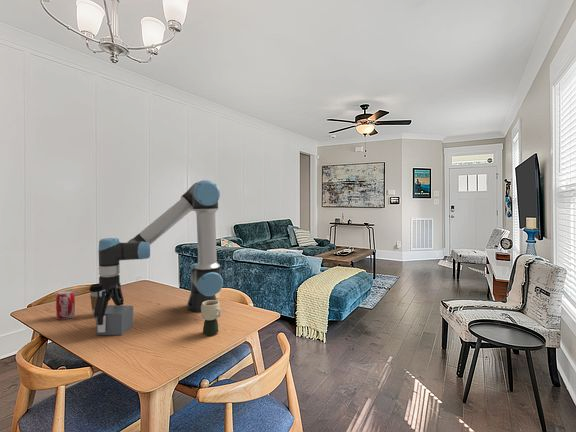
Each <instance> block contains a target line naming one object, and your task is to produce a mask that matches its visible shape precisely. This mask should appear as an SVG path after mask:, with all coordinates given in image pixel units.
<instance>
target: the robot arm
mask: <svg viewBox="0 0 576 432" xmlns="http://www.w3.org/2000/svg"><path fill="white" fill-rule="evenodd" d="M220 198H221V190H220V188H219V186H218V184H217V183H215V182H214V181H212V180H208V179H206V180H199V181H197V182H195V183H193V184H192V185H191V186H190V187H189V188H188V189H187V190H186V191H185V192H184V193H183V194H182V195H181V196H180V199H179V200H178V201H177V202H176V203H174V204H173V205H172V206H170V207H169V208H168V209H167V210H166V211H165V212H163V213H162V214H161V215H160V216H158V217H157V218H155V220H153V221H152V222H151V223H150V224H149V225H147V226H146V227H145V228H144V229H143V230H142V231H140V232H139V233H138V234H136V235H135V236H134V237H132V238H130V239H129V240H128V241H127V242H120V239H119V238H117V237H106V238H105V237H103V238H100V239H99V241H98V251H97V252H98V276H99V277H98V283H99V285H100V286H102V287H103V288H102V291H98V292H97V301H96V306H95V311H94V317H93V318H96V317H98V332H106V317H105V316H104V314H105V311H106V308H107V305H108V306H109V301H111V300H112V301H113V305H123V306H124V304H125V303H124V301H125V300H124V295H123V290H122V288H121V287H122V286H121V283H120V279H121V278H120V271H121V270H120V261H130V260H131V261H132V260H146V259H149V258H150V257H151V245H152V244H154V242H156V241H157V240H158V239H159V238H161V237H162V236H163V235H164V234H165V233H167V232H168V231H169V230H170V229H172V227H174V226H175V225H176V224H177V223H178V222H179V221H181V220H182V219H183V218H185V216H187V215H188V214H189V213H190V212H191V211H192V212H195V214H196V233H197V234H196V235H197V236H196V237H197V238H196V239H197V260H198V262H195V263H192V264H191V265H190V270H189V271H190V295H189V297H188V301H187V305H186V306H187V307H186V309H187V310H188V311H191V312H197V313H200V312H201V305H202V303H203V302H204V301H208V300H217V296H216V295H217V294H219V292H221V290H222V288H223V285H224V278H223V277H222V275H221V264H219V263H218V257H217V231H216V230H217V229H216V227H217V226H216V212H217V211H218V210H219V200H220ZM217 301H218V300H217ZM201 313H202V312H201Z"/></svg>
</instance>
